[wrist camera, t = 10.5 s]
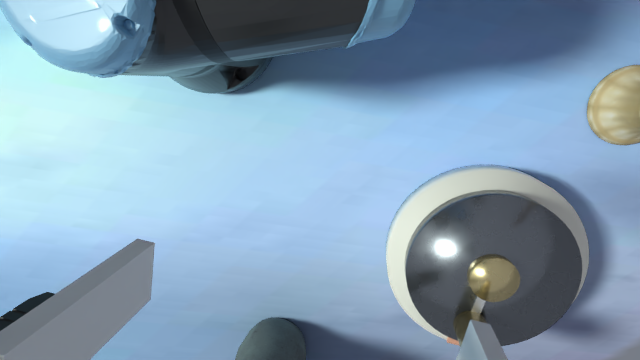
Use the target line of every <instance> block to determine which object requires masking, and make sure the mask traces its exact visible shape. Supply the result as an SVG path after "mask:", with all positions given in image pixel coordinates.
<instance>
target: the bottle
mask: <svg viewBox="0 0 640 360" xmlns="http://www.w3.org/2000/svg"><path fill="white" fill-rule="evenodd" d="M235 360H306V348H305V340H304V337H303V335H302V333H301V331H300V330H299V329H298V328H297V327H296V326H295V325H294V324H293V323H291V322H289V321H288V320H285V319H281V318H268V319H265V320H262V321H261V322H259V323H258V324H257V325H256V326H254V327H253V328H252V329H251V330H250V332H249V333H248V335H247V336H246V338H245V339H244V341H243V342H242V344H241V345H240V347H239V349H238V352H237V355H236V358H235Z"/></svg>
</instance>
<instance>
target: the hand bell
mask: <svg viewBox="0 0 640 360" xmlns="http://www.w3.org/2000/svg"><path fill="white" fill-rule="evenodd" d="M587 118H588V122H589V125H590V127H591V129H592V130H593V132H594V133H595V134H596V135H597V136H598V137H599V138H601V139H602V140H604V141H606V142H608V143H611V144H616V145H630V144H636V143H639V142H640V65H631V66H627V67H623V68H620V69H618V70H616V71H614V72H612V73H610V74H609V75H607V76H606V77H605V78H604V79H603V80H602V81H600V82H599V83H598V85H597V86H596V87H595V89H594V90H593V92H592V94H591V96H590V98H589V102H588V107H587Z"/></svg>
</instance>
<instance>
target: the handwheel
mask: <svg viewBox="0 0 640 360" xmlns="http://www.w3.org/2000/svg"><path fill="white" fill-rule="evenodd" d="M405 276H406V282H407V287H408V291H409V294H410V297H411V300H412V302H413V304H414V306H415V308H416V309H417V311H418V312H419V314H420V315H421V316H422V317H423V318H424V319H425V321H426V322H427V323H428V324H430V325H431V326H432V327H433V328H434V329H436V330H437V331H439V332H440V333H442V334H443V335H445V336H447V337H449V338H452V339H454V340H457V341H458V342H459V345H460V347H461V345H462V342H463V339H464V336H465V333H466V331H467V328H468V325H469V322H470V319H471V320H475V321H479V322H483V323H487V324H490V325H491V327H492V329H493V331H494V333H495V335H496V337H497V339H498V341H499V343H500V345H501V346H505V345H510V344H515V343H519V342H522V341H525V340H528V339H530V338H532V337H535V336H537V335H539V334H540V333H542V332H544V331H545V330H547V329H548V328H550V327H551V326H552V325H554V324H555V323H556V322H557V321H558V320H559V319H560V318H561V317H562V316H563V315H564V314H565V313H566V311H567V310H568V309H569V307H570V306H571V304H572V303H573V301H574V299H575V297H576V295H577V292H578V290H579V286H580V283H581V278H582V258H581V253H580V249H579V246H578V244H577V241H576V239H575V237H574V236H573V234H572V232H571V230H570V229H569V228H568V227H567V226H566V224H565V223H564V222H563V221H562V220H561V219H560V218H559V217H558V216H556V215H555V214H554V213H553V212H551V211H550V210H548V209H547V208H546V207H544V206H543V205H541V204H540V203H538V202H536V201H534V200H532V199H530V198H528V197H526V196H523V195H520V194H517V193H513V192H508V191H499V190H482V191H476V192H470V193H467V194H463V195H460V196H457V197H455V198H452V199H450V200H448V201H446V202H445V203H443V204H441V205H439V206H438V207H437V208H435V209H434V210H433V211H431V212H430V213H429V214H428V215H427V216H426V217H425V218H424V219H423V220H422V221H421V223H420V224H419V225H418V226H417V228H416V230H415V231H414V233H413V234H412V236H411V239H410V241H409V243H408V247H407V250H406V255H405Z"/></svg>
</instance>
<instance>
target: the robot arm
mask: <svg viewBox="0 0 640 360" xmlns="http://www.w3.org/2000/svg"><path fill="white" fill-rule="evenodd" d="M415 2H416V0H0V8H1V10H2V12H3V14H4V15H5V17H6V19H7V21H8V22H9V24H10V25H11V27H12V28H13V30H14V31H15V32H16V33H17V35H18V36H19V37H20V38H21V39H22V40H23V41H24V43H26V44H27V45H29V46H31V47H32V48H33V49H34V50H35V51H36V52H37V54H38V55H39V56H40V57H42V58H43V59H45V60H46V61H48V62H50V63H52V64H54V65H56V66H58V67H60V68H63V69H66V70H70V71H74V72H80V73H87V74H89V75H91V76H98V77H101V78H106V77H113V76H117V75H140V76H169V77H170V78H172V79H173V80H174V81H176V82H177V83H179V84H181V85H182V86H184V87H186V88H189V89H192V90H195V91H198V92H203V93H227V92H232V91H236V90H239V89H241V88H243V87H245V86H247V85H249V84H250V83H252V82H253V81H254V80H256V79H257V78H258V77H259V76H260V75H261V74H262V73H263V71H264V70H265V69H266V67H267V66H268V64H269V63H270V61H271V59H272V57H274V56H281V55H288V54H295V53H302V52H309V51H316V50H324V49H331V48H338V47H342V48H344V49H346V48H349V47H353V46H354V45H355V44H357V43H362V42H367V41H372V40H377V39H382V38H387V37H389V36H391V35H392V34H394V33H396V32H397V31H398V30H399V29H401V28H402V27H403V26H404V25H405V23H406V22H407V20H408V19H409V17H410V15H411V13H412V10H413V7H414V5H415ZM154 245H155V243H153V242H149V241H145V240H141V239H136V240H135V241H133V242H132V243H130V244H129V245H127V246H126V247H124V248H123V249H122V250H120V251H119V252H117V253H116V254H114V255H113V256H111V257H110V258H108V259H107V260H105V261H104V262H102V263H101V264H99V265H98V266H96V267H95V268H93V269H92V270H90V271H89V272H87V273H86V274H84V275H83V276H81V277H80V278H79V279H77V280H76V281H74V282H73V283H71V284H70V285H68V286H67V287H65V288H64V289H62V290H61V291H59V292H58V293H56V294H53V293H50V292H46V293H43V294H41V295H38V296H35V297H33V298H30V299H28V300H26V301H25V302H23V303H22V304H20V305H18V306H17V307H15V308H14V309H13V310H12V311H9V312H7V313H6V314H4V315H3V316H1V317H0V360H90V359H91V358H92V357H93V356H94V355H95V354H96V353H97V352H98V351H99V350H100V349H101V348H102V347H103V346H104V345H105V344H106V343H107V342H108V341H109V340H110V339H111V338H112V337H113V336H114V335H115V334H116V333H117V332H118V331H119V330H120V329H121V328H122V327H123V326H124V325H125V324H126V323H127V322H128V321H129V320H130V319H131V318H132V317H133V316H134V315H135V314H136V313H137V312H138V311H139V310H140V309H141V308H142V307H143V306H144V305H145V304H146V303H147V302H148V301H149V300H150V299H151V286H152V273H153V259H154ZM456 360H508V359H507V357H506V355H505V353H504V351H503V349H502V347H501V345H500V343H499V341H498V339H497V337H496V335H495V333H494V331H493V329H492V327H491V325H490V324H487V323H483V322H479V321H475V320H471V319H470V322H469V325H468V328H467V331H466V333H465V336H464V339H463V342H462V345H461V347H460V350H459V353H458V356H457V359H456Z"/></svg>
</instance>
